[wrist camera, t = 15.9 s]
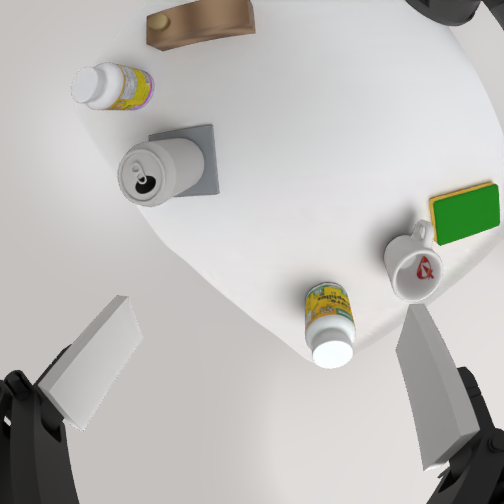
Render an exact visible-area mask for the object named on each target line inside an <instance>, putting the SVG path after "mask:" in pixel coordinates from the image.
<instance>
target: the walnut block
mask: <svg viewBox="0 0 504 504" xmlns="http://www.w3.org/2000/svg"><path fill="white" fill-rule="evenodd" d="M254 33H255V23H254V13H253V6H252V3H251V1H250V0H200V1H195V2H191V3H188V4H184V5H180V6H177V7H173V8H170V9H167V10H164V11H160V12H157V13H155V14H152V15H149V16H147V44H148V45H150V46H152V47H155V48H157V49H159V50H161V51H166V50H169V49H173V48H177V47H181V46H185V45H189V44H193V43H198V42H203V41H207V40H213V39H218V38H224V37H230V36H237V35H245V34H254Z"/></svg>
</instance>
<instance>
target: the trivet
mask: <svg viewBox="0 0 504 504" xmlns="http://www.w3.org/2000/svg"><path fill="white" fill-rule="evenodd" d="M176 138H184V139H188V140H190V141H192V142H194V143H195V144H196V145H197V146H198V147H199V148H200V150H201V152H202V153H203V157H204V161H205V163H204V171H203V174H202V176H201V178H200V179H199V181H198V182H197V183H196V184H195V185H193V186H191V187H190V188H188V189H186V190H185V191H183V192H181V193H179V194H177V195H176V196H174V197H184V196H199V195H215V194H219V184H218V175H217V164H216V154H215V143H214V132H213V125H209V126H201V127H194V128H188V129H182V130H176V131H170V132H165V133H159V134H154V135H149V142H150V141H158V140H166V139H176Z"/></svg>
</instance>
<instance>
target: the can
mask: <svg viewBox="0 0 504 504" xmlns="http://www.w3.org/2000/svg"><path fill="white" fill-rule="evenodd" d="M204 163H205V161H204V157H203V153H202V152H201V150H200V148H199V147H198V146H197V145H196V144H195V143H194V142H192V141H190V140H188V139H184V138H176V139H166V140H158V141H150V142H143V143H140V144H138V145H135V146H134V147H132V148H131V149H130V150H129V151H128V152H127V154H126V155H125V156H124V157H123V159H122V161H121V163H120V165H119V169H118V182H119V186H120V189H121V191H122V192H123V194H124V196H125V197H126V198H127V199H128V200H130V201H131V202H133V203H135V204H139V205H142V206H147V207H153V206H157V205H160V204H162V203H164V202H165V201H167V200H169V199H170V198H172V197H174V196H176V195H177V194H179V193H181V192H183V191H185V190H186V189H188V188H190V187H191V186H193V185H195V184H196V183H197V182H198V181H199V179H200V178H201V176H202V174H203V171H204Z"/></svg>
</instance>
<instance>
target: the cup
mask: <svg viewBox="0 0 504 504" xmlns="http://www.w3.org/2000/svg"><path fill="white" fill-rule="evenodd" d="M424 227H425V235H424V238H423V239H422V237H421V233H422V229H423V228H424ZM433 239H434V228H433V226H432V224H431V223H429V222H428V221H425V220H420V221H418V222H417V223H416V225H415V227H414V230H413V233H412V235H411V236H409V235H402V236H398V237H396V238H395V239H393V240H392V241H391V242H390V243H389V244H388V246H387V248H386V250H385V254H384V262H385V266H386V269H387V272H388V276H389V279H390V282H391V285H392V288H393V291H394V293H395V294H396V295H397V296H398V297H399V298H400V299H402V300H404V301H407V302H416V301H420V300H423V299H425V298H427V297H428V296H430V295H431V294H432V293H433V292H434V291H435V290H436V288H437V287H438V285H439V284H440V282H441V279H442V275H443V264H442V261H441V259H440V257H439V256H438V255H437V254H436V253H435V252H434V251H433V250H432V248H431V246H432V243H433Z"/></svg>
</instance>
